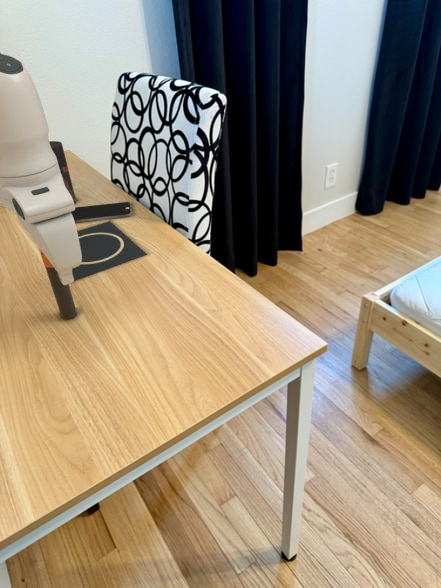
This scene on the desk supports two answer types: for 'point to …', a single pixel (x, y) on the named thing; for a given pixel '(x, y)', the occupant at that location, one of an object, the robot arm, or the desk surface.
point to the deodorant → (63, 166)
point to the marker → (60, 292)
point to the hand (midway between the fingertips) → (57, 268)
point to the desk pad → (104, 249)
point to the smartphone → (102, 212)
